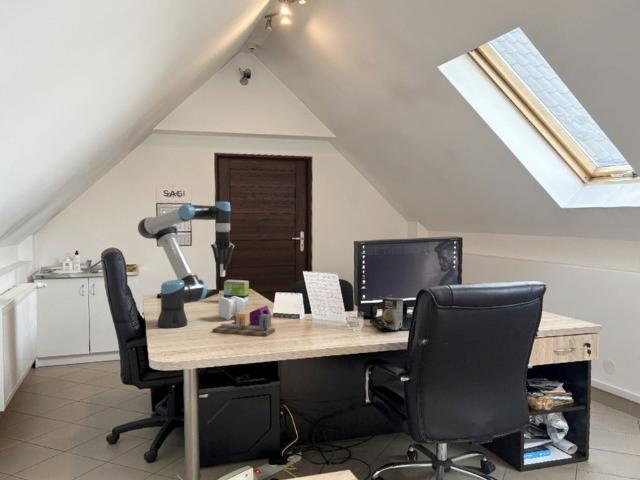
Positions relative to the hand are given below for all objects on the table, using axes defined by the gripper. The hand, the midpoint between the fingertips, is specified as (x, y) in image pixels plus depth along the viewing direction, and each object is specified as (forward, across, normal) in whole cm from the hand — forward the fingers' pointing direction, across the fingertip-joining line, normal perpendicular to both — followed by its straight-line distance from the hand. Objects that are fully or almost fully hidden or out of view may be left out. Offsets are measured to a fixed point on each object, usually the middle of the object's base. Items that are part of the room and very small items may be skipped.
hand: (222, 276), depth 254 cm
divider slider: (+24, +15, -8) cm, 30 cm away
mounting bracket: (+27, +12, +11) cm, 31 cm away
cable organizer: (+27, -6, +23) cm, 36 cm away
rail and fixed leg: (+25, +16, -8) cm, 31 cm away
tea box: (+27, -28, +75) cm, 84 cm away
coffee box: (+27, +86, +23) cm, 93 cm away
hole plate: (+26, +16, -8) cm, 32 cm away
